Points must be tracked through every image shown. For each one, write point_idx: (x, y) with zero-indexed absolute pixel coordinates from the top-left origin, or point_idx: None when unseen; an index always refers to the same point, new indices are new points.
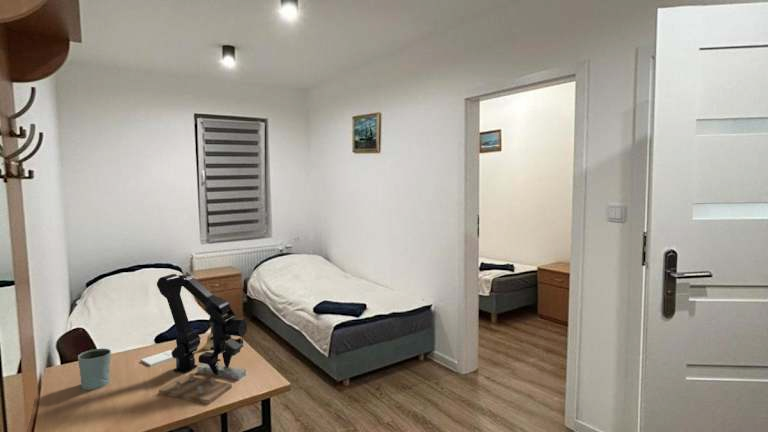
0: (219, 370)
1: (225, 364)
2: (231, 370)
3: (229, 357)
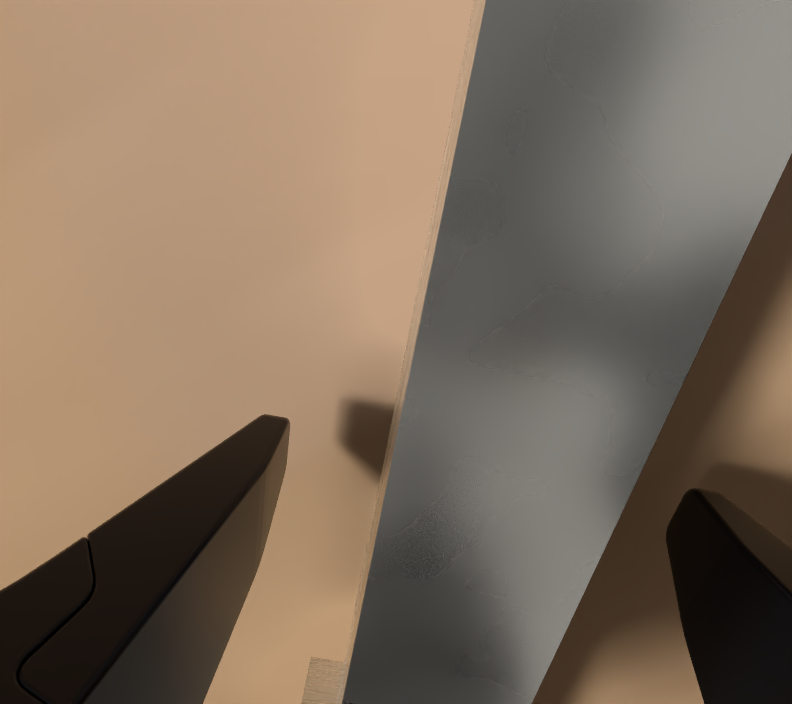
0: (598, 532)
1: (259, 537)
2: (663, 164)
3: (122, 667)
